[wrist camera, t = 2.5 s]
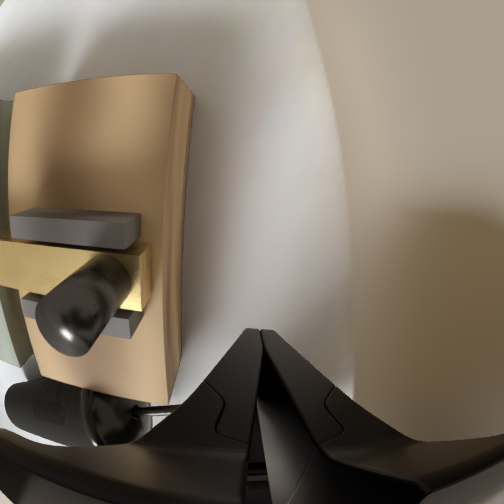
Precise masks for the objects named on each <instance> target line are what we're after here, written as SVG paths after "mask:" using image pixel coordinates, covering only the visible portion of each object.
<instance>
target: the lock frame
mask: <svg viewBox="0 0 504 504" xmlns="http://www.w3.org/2000/svg"><path fill="white" fill-rule="evenodd" d="M194 99H195V96H194V95H193V93H192V92H191V91H190V90H189V88H188V87H187V86H186V85H185V83H184V82H183V81H182V80H181V78H180V77H179V76H178V75H177V74H145V75H127V76H114V77H104V78H94V79H86V80H79V81H72V82H66V83H60V84H54V85H49V86H44V87H39V88H34V89H29V90H25V91H21V92H17V93H15V96H14V102H11V101H4V100H0V230H3V231H11V237H12V238H18V239H27V240H36V241H45V242H55V243H64V244H73V245H83V246H93V247H103V248H112V249H122V250H125V249H126V248H127V247H129V246H130V245H131V244H132V243H141V244H151V297H150V298H149V300H148V302H147V303H146V305H145V307H144V308H143V310H142V311H134V310H128V309H121V308H119V309H118V311H117V312H116V313H115V315H114V316H113V318H112V319H111V320H110V322H109V323H108V324H107V326H106V327H105V329H104V330H103V331H102V333H101V334H100V336H99V337H98V339H97V340H96V341H95V343H94V344H93V346H92V347H91V349H90V350H89V351H88V353H86V354H85V355H83V356H80V357H70V356H67V355H64V354H62V353H60V352H58V351H57V350H55V349H54V348H53V347H52V346H50V345H49V344H48V342H47V341H46V340H45V339H44V337H43V336H42V334H41V333H40V331H39V329H38V326H37V323H36V319H35V309H36V305H37V303H38V302H39V300H40V299H41V298H43V297H44V296H45V295H42V294H37V293H32V292H28V291H23V290H19V289H14V288H10V287H6V286H2V285H0V360H2V361H4V362H7V363H9V364H12V365H14V366H17V367H19V368H21V367H22V366H23V364H24V363H25V362H26V361H27V360H28V359H29V357H30V356H31V355H32V354H33V353H34V354H35V357H36V360H37V363H38V366H39V369H40V372H41V375H42V376H45V377H48V378H51V379H54V380H58V381H61V382H64V383H67V384H71V385H74V386H78V387H82V388H86V389H89V390H93V391H97V392H101V393H106V394H110V395H114V396H119V397H124V398H128V399H133V400H139V401H144V402H150V403H156V404H162V405H168V406H169V402H170V398H171V394H172V390H173V386H174V382H175V379H176V375H177V371H178V367H179V364H180V360H181V277H182V246H183V224H184V207H185V192H186V178H187V166H188V154H189V144H190V134H191V125H192V116H193V107H194Z"/></svg>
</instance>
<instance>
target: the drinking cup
mask: <svg viewBox="0 0 504 504" xmlns="http://www.w3.org/2000/svg"><path fill="white" fill-rule="evenodd" d="M4 403H5V410H6V413H7V415H8V417H9V419H10V420H11V422H12V423H13V424H14V425H15V426H16V427H18V428H20V429H22V430H24V431H27V432H29V433H32V434H35V435H37V436H40V437H43V438H45V439H48V440H51V441H54V442H57V443H60V444H63V445H66V446H106V445H121V444H127V443H130V442H133V441H135V440H137V439H139V438H140V437H142V436H143V435H145V434H146V433H147V432H148V431H150V430H151V429H152V426H153V421H152V416H165V415H169V414H171V413H172V412H173V411H174V410H176V409H177V408H178V407H179V406H180V405H181V404H178V405H169V406H168V405H166V406H152V407H151V405H150V402H144V401H139V400H133V399H128V398H124V397H119V396H114V395H110V394H106V393H101V392H97V391H93V390H89V389H86V388H82V387H78V386H74V385H71V384H67V383H64V382H61V381H58V380H54V379H51V378H43V379H38V380H32V381H27V382H21V383H16V384H13V385H12V386H11V387H9V389H8V390H7V392H6V395H5V402H4Z"/></svg>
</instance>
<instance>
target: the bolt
mask: <svg viewBox="0 0 504 504" xmlns="http://www.w3.org/2000/svg"><path fill="white" fill-rule="evenodd" d="M0 285H2V286H6V287H10V288H14V289H19V290H23V291H28V292H32V293H37V294H42V295H45V296H44V297H43V298H41V299H40V300H39V302H38V303H37V305H36V309H35V319H36V323H37V326H38V329H39V331H40V333H41V334H42V336H43V337H44V339H45V340H46V341H47V342H48V344H49V345H50V346H52V347H53V348H54V349H55V350H57V351H58V352H60V353H62V354H64V355H67V356H70V357H80V356H83V355H85V354H86V353H88V351H89V350H90V349H91V347H92V346H93V344H94V343H95V341H96V340H97V339H98V337H99V336H100V334H101V333H102V331H103V330H104V329H105V327H106V326H107V324H108V323H109V322H110V320H111V319H112V318H113V316H114V315H115V313H116V312H117V311H118V309H119V308H121V309H128V310H134V311H142V310H143V308H144V307H145V305H146V303H147V302H148V300H149V298H150V297H151V244H141V243H132V244H131V245H130V246H129V247H127V248H126V249H125V250H122V249H112V248H103V247H93V246H83V245H73V244H64V243H55V242H45V241H36V240H27V239H18V238H12V237H11V231H3V230H0Z"/></svg>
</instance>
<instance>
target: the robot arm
mask: <svg viewBox="0 0 504 504" xmlns="http://www.w3.org/2000/svg"><path fill="white" fill-rule="evenodd" d="M0 490H1V491H2V492H3V493H4V495H6V496H7V498H8V499H9V500H10V501H12V503H14V504H504V434H500V435H496V436H491V437H484V438H474V439H465V440H452V441H433V442H425V441H418V440H414V439H412V438H409V437H407V436H405V435H403V434H401V433H400V432H398V431H397V430H395V429H394V428H392V427H391V426H389V425H388V424H386V423H385V422H383V421H382V420H380V419H378V418H377V417H376V416H374V415H372V414H371V413H370V412H368V411H367V410H365V409H364V408H363V407H361V406H360V405H358V404H357V403H356V402H354V401H353V400H352V399H351V398H349V397H348V396H347V395H346V394H345V393H343V392H342V391H341V390H340V389H339V388H338V387H335V385H334V384H333V383H332V382H331V381H329V380H328V379H327V378H326V377H325V376H324V375H323V374H322V373H320V372H319V371H318V370H317V369H316V368H315V367H314V366H313V365H311V364H310V363H309V362H308V361H307V360H306V359H305V358H304V357H302V356H301V355H300V354H299V353H298V352H297V351H296V350H295V349H294V348H293V347H291V346H290V345H289V344H288V343H287V342H286V341H285V340H284V339H283V338H282V337H281V336H279V335H278V334H277V333H276V332H275V331H274V330H267V329H261V330H260V331H259V329H252V328H246V329H245V330H244V331H243V333H242V334H241V335H240V336H239V338H238V339H237V340H236V341H235V343H234V344H233V345H232V346H231V348H230V349H229V350H228V351H227V353H226V354H225V355H224V356H223V357H222V359H221V360H220V361H219V362H218V364H217V365H216V366H215V367H214V369H213V370H212V371H211V372H210V373H209V375H208V376H207V377H206V378H205V379H204V381H203V382H202V383H201V384H200V385H199V386H198V388H197V389H196V390H195V391H194V392H193V393H192V394H191V395H190V396H189V398H188V399H187V400H186V401H184V402H183V403H182V404H181V405H180V406H179V407H178V408H177V409H176V410H174V411H173V412H172V413H171V414H169V415H168V416H167V417H166V418H165V419H163V420H162V421H161V422H160V423H158V424H157V425H156V426H155V427H153V428H152V429H151V430H150V431H148V432H147V433H146V434H145V435H143V436H142V437H140V438H139V439H137V440H135V441H133V442H130V443H127V444H121V445H106V446H53V445H46V444H41V443H38V442H34V441H31V440H29V439H26V438H24V437H22V436H20V435H18V434H16V433H14V432H11V431H9V430H6V429H3V428H0Z"/></svg>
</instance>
